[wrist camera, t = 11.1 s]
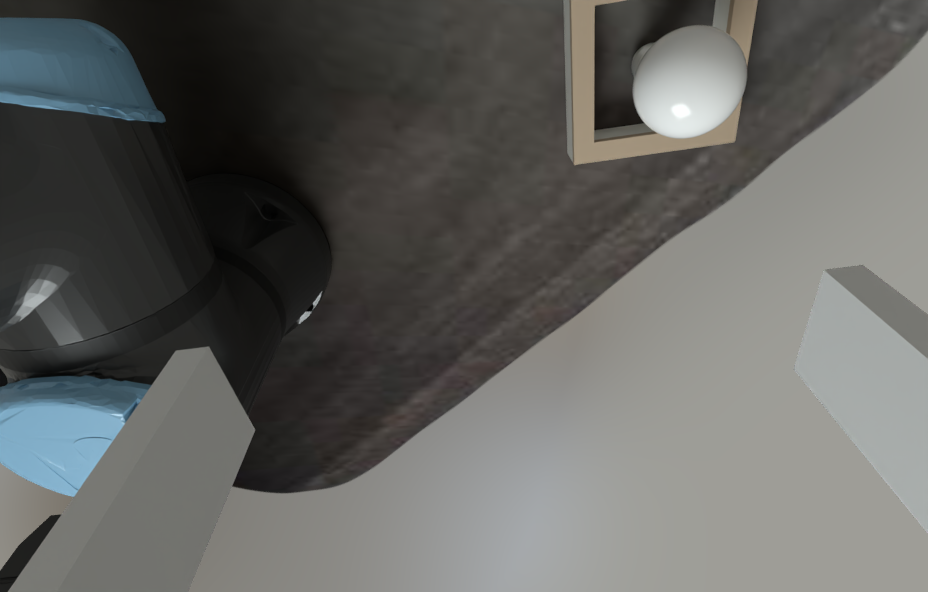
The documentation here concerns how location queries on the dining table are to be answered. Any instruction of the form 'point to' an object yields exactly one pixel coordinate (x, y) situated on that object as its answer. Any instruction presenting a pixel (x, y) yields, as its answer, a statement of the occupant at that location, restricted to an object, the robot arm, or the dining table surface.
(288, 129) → the dining table surface
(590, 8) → the square frame
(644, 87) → the lightbulb
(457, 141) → the dining table surface
